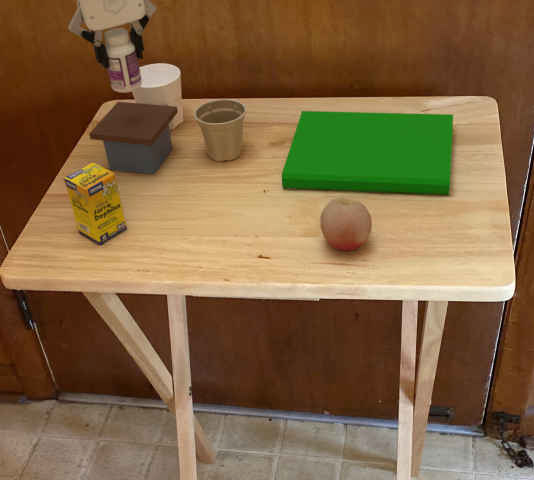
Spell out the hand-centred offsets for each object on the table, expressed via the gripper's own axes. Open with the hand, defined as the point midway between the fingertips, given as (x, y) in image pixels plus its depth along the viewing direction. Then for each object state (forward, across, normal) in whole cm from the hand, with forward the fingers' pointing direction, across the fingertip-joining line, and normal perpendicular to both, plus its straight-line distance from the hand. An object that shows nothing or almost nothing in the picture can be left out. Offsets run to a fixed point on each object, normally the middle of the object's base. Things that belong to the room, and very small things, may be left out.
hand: (121, 59), depth 139 cm
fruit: (+20, +18, -43) cm, 51 cm away
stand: (+19, 0, 0) cm, 19 cm away
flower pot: (+20, +14, -7) cm, 25 cm away
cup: (+20, +9, +11) cm, 24 cm away
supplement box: (+20, -14, -18) cm, 30 cm away
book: (+20, +35, -24) cm, 47 cm away
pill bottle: (+5, 0, 0) cm, 5 cm away
